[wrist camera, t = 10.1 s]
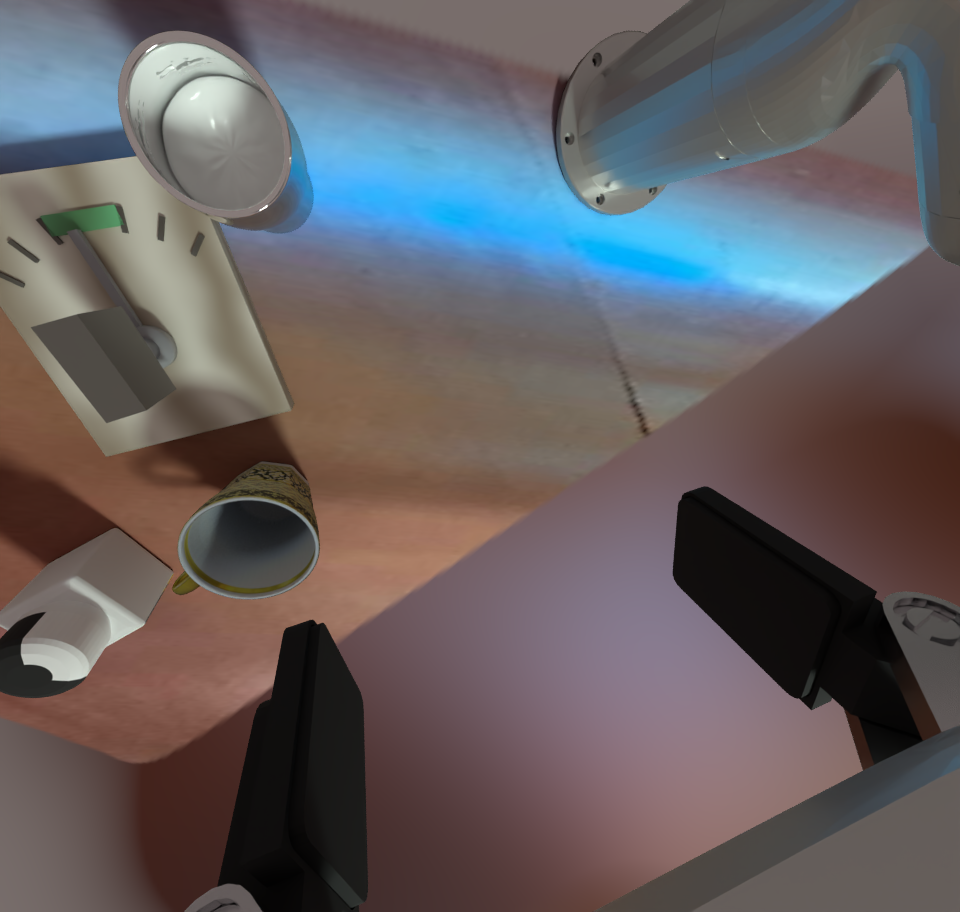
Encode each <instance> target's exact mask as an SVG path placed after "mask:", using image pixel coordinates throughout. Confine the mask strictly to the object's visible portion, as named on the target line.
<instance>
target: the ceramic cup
mask: <svg viewBox="0 0 960 912" xmlns="http://www.w3.org/2000/svg"><path fill="white" fill-rule="evenodd" d="M319 551H320V543H319V531H318V526H317V520H316V516H315V513H314V510H313V503H312V498H311V493H310V487H309V483H308V482H307V480H306V479H305V478H304V477H303V476H302V475H301V474H300V473H299V472H298V471H297V470H296V469H295V468H294V467H293V466H292V465H288V464H280V463H272V462H264V461H263V462H259V463H258V464H256V465H254V466H253V467H251V468H250V469H248V470H246V471H245V472H243V473H241V474H240V475H238V476H237V477H236V478H235V479H234V480H233V481H232V482H231V483H229V484H228V485H227V486H226V487H225V488H224V489H223V490H222V491H220V492H219V493H218V494H217V495H215V496H214V497H212V498H211V499H210V500H208V501H207V502H206V503H205V504H204V505H203V506H201V507H200V508H199V509H198V510H197V511H196V512H195V513H194V514H193V515H192V517H191V518H190V519H189V520H188V521H187V522H186V524H185V525H184V527H183V529H182V531H181V533H180V536H179V540H178V556H179V560H180V562H181V565H182V567H183V569H184V570H185V571H184V572H183V573H182V574H181V575H180V576H179V578H178V579H177V580H176V581H175V583H174V585H173V587H172V590H173V592H175V593H176V594H178V595H184V594H187V593H189V592H192V591H193V590H195V589H197V588H198V587H199V586H202V587H203V588H205V589H207V590H209V591H211V592H213V593H216V594H218V595H222V596H225V597H230V598H236V599H262V598H268V597H272V596H276V595H279V594H282V593H284V592H286V591H288V590H290V589H292V588H294V587H296V586H297V585H298V584H300V583H301V582H302V581H303V580H305V579H306V578H307V577H308V576H309V574H310V573H311V572H312V570H313V569H314V567H315V565H316V563H317V560H318V557H319Z"/></svg>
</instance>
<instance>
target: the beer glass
mask: <svg viewBox="0 0 960 912" xmlns="http://www.w3.org/2000/svg"><path fill="white" fill-rule="evenodd" d="M118 104H119V111H120V117H121V121H122V124H123V128H124V130H125V133H126V136H127V138H128V140H129V143H130V145H131V147H132V149H133V151H134V152H135V154H136V156H137V157H138V159H139V160H140V162H141V163H142V165H143V166H144V168H145V169H146V170H147V171H148V173H149V174H150V175H151V176H152V177H153V178H154V180H155V181H156V182H157V183H158V184H159V185H160V186H161V187H163V188H164V189H165V190H166V191H167V192H168V193H170V194H171V195H172V196H173V197H175V198H176V199H178V200H179V201H181V202H182V203H184V204H186V205H187V206H189V207H191V208H193V209H195V210H197V211H198V212H200V213H202V214H203V215H205V216H207V217H209V218H211V219H213V220H215V221H218V222H220V223H222V224H225V225H227V226H231V227H234V228H239V229H244V230H251V231H261V230H264V231H267V232H271V233H288V232H291V231H294V230H296V229H298V228H299V227H301V226H302V225H303V224H304V223H305V222H306V220H307V219H308V217H309V215H310V213H311V210H312V207H313V200H314V195H313V187H312V183H311V180H310V177H309V175H308V172H307V164H306V158H305V154H304V151H303V147H302V144H301V141H300V138H299V136H298V133H297V131H296V129H295V127H294V125H293V123H292V121H291V119H290V118H289V116H288V114H287V112H286V111H285V109H284V108H283V106H282V105H281V103H280V102H279V100H278V99H277V98H276V96H275V94H274V93H273V91H272V89H271V88H270V86H269V85H268V84H267V82H266V81H265V80H264V78H263V77H262V76H261V75H260V73H259V72H258V71H257V70H256V69H255V68H254V67H253V66H252V65H251V64H250V63H249V62H248V61H247V60H246V59H244V58H243V57H242V56H241V55H240V54H238V53H237V52H236V51H234V50H233V49H231V48H230V47H228V46H226V45H225V44H223V43H221V42H219V41H217V40H215V39H213V38H211V37H208V36H205V35H202V34H199V33H195V32H189V31H166V32H161V33H158V34H155V35H153V36H150V37H148V38H147V39H145V40H143V41H142V42H141V43H139V44H138V45H137V46H136V47H135V48H134V49H133V50H132V52H131V53H130V54H129V56H128V57H127V59H126V61H125V63H124V65H123V68H122V71H121V74H120V79H119V85H118Z"/></svg>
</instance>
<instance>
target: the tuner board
mask: <svg viewBox="0 0 960 912" xmlns="http://www.w3.org/2000/svg"><path fill="white" fill-rule="evenodd" d="M75 229H78V230H81V231H82V233H83V234H84V236H85V237H86V239H87V240H88V242H89V243H90V245H91V247H92V248H93V250H94V251H95V253H96V254H97V256H98V257H99V259H100V260H101V262H102V263H103V265H104V266H105V268H106V269H107V271H108V273H109V274H110V276H111V277H112V279H113V280H114V282H115V283H116V285H117V286H118V288H119V289H120V291H121V292H122V294H123V295H124V297H125V299H126V300H127V302H128V303H129V305H130V306H131V308H132V309H133V311H134V312H135V314H136V315H137V317H138V318H139V320H140V321H141V323H142V325H150V326H155V327H158V328H160V329H162V330H164V331H165V332H167V333H168V334H169V335H170V336H171V337H172V338H173V340H174V341H175V343H176V346H177V351H178V352H177V357H176V359H175V361H174V362H173V363H172V364H170V365H169V366H167V367H165V368H163V369H164V371H165V372H166V374H167V375H168V377H169V378H170V380H171V381H172V383H173V384H174V386H175V387H176V390H175V391H173V392H172V393H170V394H169V395H168V396H166V397H165V398H163V399H162V400H161V401H159V402H158V403H156V404H155V405H154V406H152V407H151V408H149V409H148V410H147V411H143V412H140V413H137V414H134V415H131V416H128V417H125V418H121V419H118V420H115V421H112V422H109V423H106V422H105V421H104V420H103V418H102V417H101V416H100V414H99V413H98V412H97V411H96V409H95V408H94V407H93V406H92V404H91V403H90V402H89V401H88V399H87V398H86V397H85V396H84V394H83V393H82V392H81V390H80V389H79V388H78V387H77V385H76V384H75V383H74V382H73V380H72V379H71V378H70V377H69V375H68V374H67V373H66V372H65V370H64V369H63V368H62V366H61V365H60V364H59V363H58V361H57V360H56V359H55V358H54V356H53V355H52V354H51V353H50V351H49V350H48V349H47V348H46V346H45V345H44V344H43V342H42V341H41V340H40V339H39V337H38V336H37V335H36V334H35V332H34V331H33V330H32V329H31V327H33V326H37V325H40V324H44V323H47V322H51V321H55V320H58V319H62V318H65V317H69V316H72V315H76V314H81V313H86V312H92V311H97V310H103V309H108V308H114V307H117V306H116V305H115V303H114V302H113V300H112V299H111V297H110V296H109V294H108V293H107V291H106V290H105V288H104V287H103V285H102V284H101V283H100V281H99V280H98V278H97V277H96V275H95V274H94V272H93V271H92V269H91V268H90V266H89V265H88V263H87V262H86V260H85V259H84V257H83V256H82V254H81V253H80V251H79V250H78V248H77V247H76V245H75V244H74V242H73V241H72V239H71V238H70V236H69V235H68V233H67V231H71V230H75ZM0 306H1V308H2V309H3V311H4V312H5V313H6V315H7V316H8V318H9V319H10V320H11V322H12V323H13V325H14V326H15V328H16V329H17V330H18V332H19V333H20V335H21V336H22V338H23V339H24V340H25V342H26V343H27V345H28V346H29V348H30V349H31V350H32V352H33V353H34V355H35V356H36V357H37V359H38V360H39V362H40V363H41V365H42V366H43V367H44V369H45V370H46V372H47V373H48V375H49V376H50V377H51V379H52V380H53V382H54V383H55V385H56V386H57V387H58V389H59V390H60V392H61V393H62V395H63V396H64V397H65V399H66V400H67V402H68V403H69V404H70V406H71V407H72V409H73V410H74V412H75V413H76V414H77V416H78V417H79V419H80V420H81V422H82V423H83V424H84V426H85V427H86V429H87V430H88V432H89V433H90V434H91V436H92V437H93V439H94V440H95V442H96V443H97V444H98V446H99V447H100V449H101V450H102V451H103V453H104V454H105V456H106V457H107V456H111V455H115V454H119V453H123V452H127V451H131V450H135V449H139V448H143V447H147V446H151V445H155V444H159V443H163V442H167V441H171V440H175V439H179V438H183V437H187V436H191V435H195V434H199V433H203V432H207V431H211V430H215V429H219V428H223V427H227V426H231V425H235V424H239V423H243V422H247V421H251V420H255V419H259V418H263V417H267V416H271V415H275V414H279V413H283V412H287V411H291V410H292V408H293V405H294V402H293V400H292V397H291V395H290V392H289V390H288V388H287V385H286V383H285V380H284V378H283V376H282V373H281V371H280V368H279V366H278V364H277V361H276V359H275V356H274V354H273V352H272V349H271V347H270V344H269V342H268V340H267V337H266V335H265V332H264V330H263V328H262V325H261V323H260V320H259V318H258V316H257V313H256V311H255V308H254V306H253V304H252V301H251V299H250V296H249V294H248V292H247V289H246V287H245V284H244V282H243V280H242V277H241V275H240V272H239V270H238V268H237V265H236V263H235V260H234V258H233V256H232V253H231V251H230V248H229V246H228V244H227V241H226V239H225V236H224V234H223V232H222V229H221V227H220V224H219V222H218V221H215V220H213V219H211V218H209V217H207V216H205V215H203V214H202V213H200V212H198V211H197V210H195V209H193V208H191V207H189V206H187V205H186V204H184V203H182V202H181V201H179V200H178V199H176V198H175V197H173V196H172V195H171V194H170V193H168V192H167V191H166V190H165V189H164V188H163V187H161V186H160V185H159V184H158V183H157V182H156V181H155V180H154V178H153V177H152V176H151V175H150V174H149V173H148V171H147V170H146V169H145V168H144V166H143V165H142V163H141V162H140V160H139V159H138V157H137V156H134V157H127V158H119V159H112V160H105V161H97V162H90V163H82V164H75V165H68V166H60V167H53V168H46V169H38V170H31V171H24V172H16V173H9V174H1V175H0Z"/></svg>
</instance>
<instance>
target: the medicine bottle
mask: <svg viewBox="0 0 960 912" xmlns="http://www.w3.org/2000/svg"><path fill="white" fill-rule="evenodd" d="M172 576H173V571H172V570H171V569H169V568H168V567H167V566H166V565H164V564H163V563H162V562H160V561H159V560H158V559H157V558H155V557H154V556H153V555H151V554H150V553H149V552H148V551H146V550H145V549H144V548H143V547H141V546H140V545H139V544H137V543H136V542H135V541H134V540H132V539H131V538H130V537H129V536H127V535H126V534H125V533H123V532H122V531H121V530H120V529H118V528H113V529H111V530H109V531H107V532H105V533H103V534H102V535H100V536H98V537H96V538H94V539H93V540H91V541H89V542H87V543H85V544H83V545H82V546H80V547H78V548H76V549H74V550H73V551H71V552H69V553H67V554H65V555H63V556H62V557H60V558H58V559H56V560H54V561H53V562H51V563H49V564H48V565H47V566H46V567H45V568H44V569H43V570H42V571H41V572H40V573H39V574H38V575H37V576H36V577H35V578H34V579H33V580H32V581H31V582H30V583H29V584H28V585H27V586H26V587H25V588H24V589H23V590H21V591H20V592H19V593H18V594H17V595H16V596H15V597H14V598H13V599H12V600H11V601H10V602H9V603H8V604H7V605H6V606H5V607H4V608H3V609H2V610H1V611H0V626H1V627H3V628H4V629H6V630H8V631H7V632H6V633H5V634H4V635H3V636H2V638H1V639H0V692H3V693H5V694H8V695H12V696H17V697H25V698H41V697H49V696H53V695H57V694H60V693H63V692H65V691H68V690H70V689H72V688H74V687H76V686H77V685H79V684H80V683H81V682H82V681H83V680H84V679H85V678H86V676H87V675H88V673H89V672H90V670H91V669H92V667H93V666H94V664H95V663H96V661H97V659H98V658H99V656H100V655H101V653H102V652H103V650H104V649H105V647H107V646H108V645H110V644H112V643H114V642H116V641H117V640H119V639H121V638H123V637H124V636H126V635H128V634H130V633H131V632H133V631H135V630H137V629H139V628H140V627H142V626H143V625H144V624H145V623H146V621H147V620H148V618H149V616H150V614H151V613H152V611H153V609H154V607H155V606H156V604H157V602H158V601H159V599H160V597H161V595H162V594H163V592H164V590H165V588H166V587H167V585H168V583H169V581H170V580H171V578H172Z"/></svg>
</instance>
